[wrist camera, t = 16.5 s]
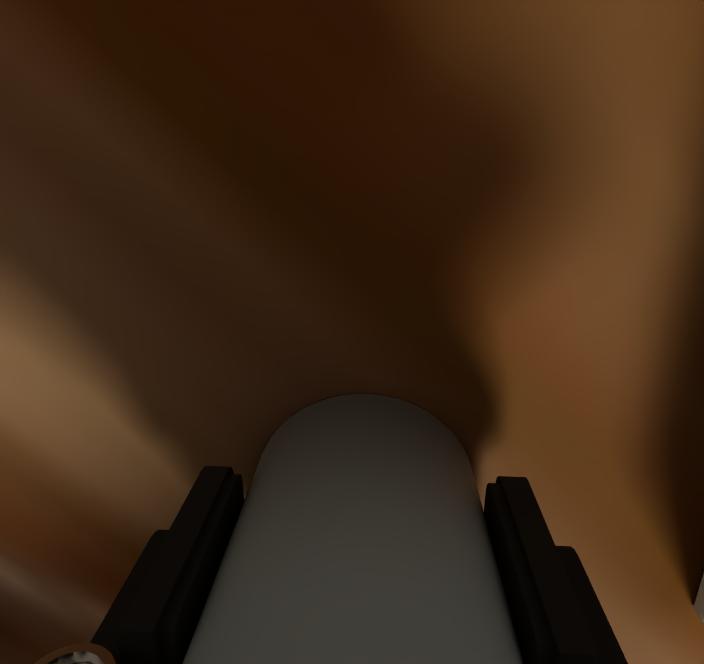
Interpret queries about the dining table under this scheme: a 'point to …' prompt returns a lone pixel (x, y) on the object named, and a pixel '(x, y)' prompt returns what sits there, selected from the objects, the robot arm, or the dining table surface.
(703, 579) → the tote
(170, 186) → the dining table surface
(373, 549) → the slate capsule
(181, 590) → the robot arm
